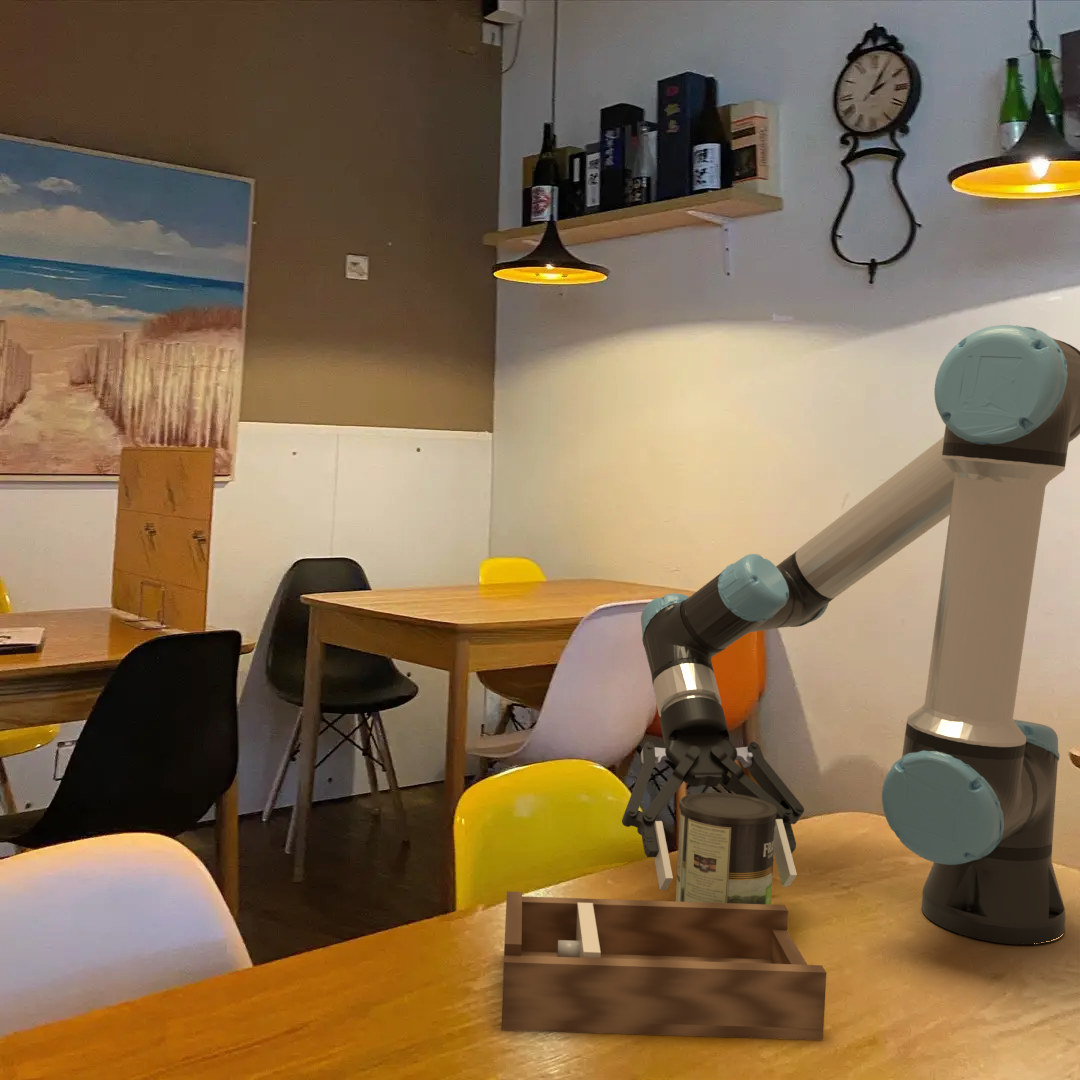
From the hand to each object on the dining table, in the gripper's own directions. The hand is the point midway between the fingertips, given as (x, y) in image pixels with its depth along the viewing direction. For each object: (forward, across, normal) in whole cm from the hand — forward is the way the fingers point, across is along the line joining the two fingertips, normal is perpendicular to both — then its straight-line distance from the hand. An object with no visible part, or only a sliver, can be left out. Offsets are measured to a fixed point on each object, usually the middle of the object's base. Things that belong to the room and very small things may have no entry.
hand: (728, 882), depth 120 cm
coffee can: (+3, 0, -6) cm, 7 cm away
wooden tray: (+12, +11, +4) cm, 17 cm away
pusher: (+11, +18, +4) cm, 22 cm away
